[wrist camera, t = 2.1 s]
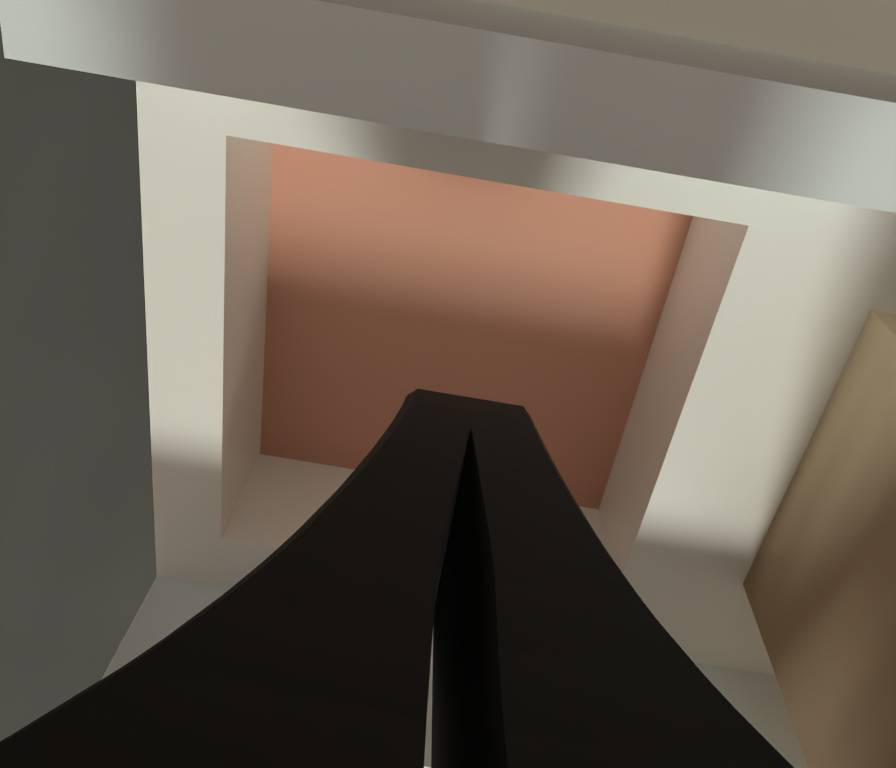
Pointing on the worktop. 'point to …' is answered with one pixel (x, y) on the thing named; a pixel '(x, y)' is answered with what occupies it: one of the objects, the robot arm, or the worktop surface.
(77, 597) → the worktop surface
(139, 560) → the worktop surface
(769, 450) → the white tray
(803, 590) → the block
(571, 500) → the robot arm
